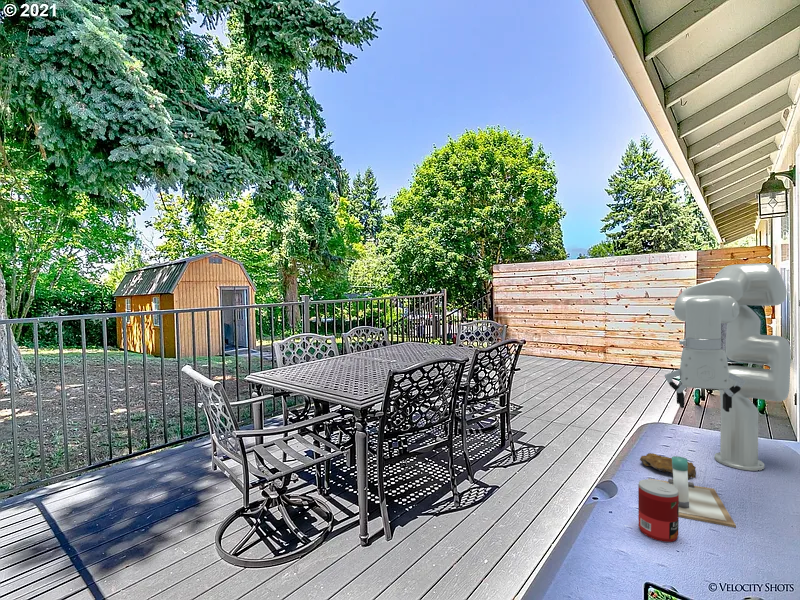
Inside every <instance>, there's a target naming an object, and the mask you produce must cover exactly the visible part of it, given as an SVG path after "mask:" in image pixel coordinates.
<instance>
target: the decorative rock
mask: <svg viewBox="0 0 800 600" xmlns="http://www.w3.org/2000/svg"><path fill="white" fill-rule="evenodd" d="M639 461H641V463H642V464H643V466H646V467H653V468H654V469H656V470H657V471H661V472H662V473H667V472H668V473H671V474H673V468H672V457H667V456H664V455H663V456H662V455H658V454H657V453H650V452H648V453H647V454H646V455H641V456H640V458H639ZM696 475H697V471H696V465H694V463H693V462H689V461H688V479H689V478H692V479H696V478H697V477H696Z"/></svg>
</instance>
